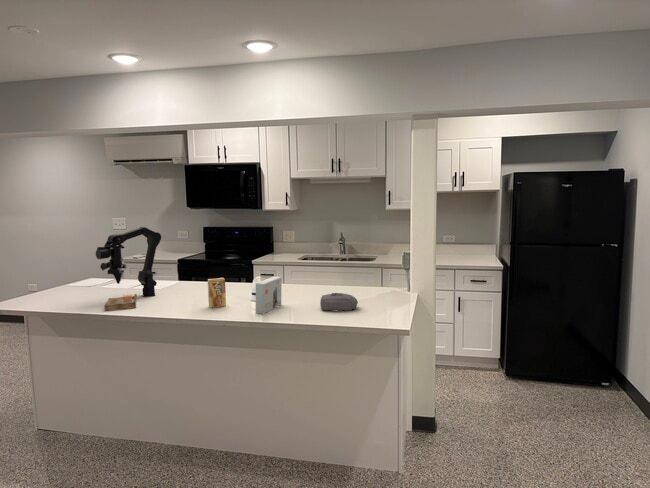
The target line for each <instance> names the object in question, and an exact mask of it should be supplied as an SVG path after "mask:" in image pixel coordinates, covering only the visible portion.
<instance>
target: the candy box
mask: <svg viewBox="0 0 650 488" xmlns="http://www.w3.org/2000/svg"><path fill="white" fill-rule="evenodd" d="M207 296H208V307H209V308H210V309H213V308H212V307H214V308H219V307H221V308H222V307H226V306H227V297H226V296H227V295H226V279H225V278H224V277H219V278H218V277H217V278H208V279H207Z"/></svg>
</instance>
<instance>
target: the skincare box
mask: <svg viewBox="0 0 650 488" xmlns="http://www.w3.org/2000/svg"><path fill="white" fill-rule="evenodd" d="M282 280H283V279H282V276H275V275H274V276H271V277H269V278H266V279H263V280H260V281H258V282H255V314H262V315H264V314H266V313H268V312H270V311H272V310H274V309H276V308H277V306H278V307H280V306H281V305H282ZM279 305H280V306H279Z"/></svg>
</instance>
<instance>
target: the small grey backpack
mask: <svg viewBox="0 0 650 488" xmlns="http://www.w3.org/2000/svg"><path fill="white" fill-rule="evenodd" d="M319 302H320V304H319V305H320V309H321V311H325V310H349V311H353V310H352V309H354V310H356V309H357V306H358V304H359V301H358V299H357V298H356V297H355V296H353V295H351V294H348V293H342V292H331V293H328V294H323V295H321V298H320V301H319ZM355 308H356V309H355Z"/></svg>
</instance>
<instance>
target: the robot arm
mask: <svg viewBox="0 0 650 488" xmlns="http://www.w3.org/2000/svg"><path fill="white" fill-rule="evenodd" d="M140 236H143V237H145V238H146V243H147V249H146V255H145V259H144V265H143V268H142V270H139V271H138V275H137V280H138V282H139V283H140V285H141V286H143V287H142V296H143V297H144V298H145V297H155V296H156V291H155V287H156V286H157V281H156V280H155V279H154V274H153V265H154V262H155V261H154V260H155V255H156V251H157V247H158V246H159V244H161V243H160V242H161V240H162V235H161V233H160V232H156V231H154V230H151V229H150V228H148V227H147V226H140V227H139V228H136V229H132V230H129V231H126V232H123V233H117V234H116V233H115V234H110V235H109V236H108V237H107V240H106V242H105V244H104V246H97V248H96V250H95V257H96V259H97V260H103V259H104V260H105V259H109V258H110V259H109V261H108V262H102V263H101V264H100V265H99V269H101V271H102V272H103V271H105V270H107V269H108V270H107V271H106V272H107V275H113V277H114V278H115V281H116V284H118V285H119V284H120V283H121V280H122V277H123V275H124V273H125V270H126V269H127V264H125V263H123V260H124V259H123V257H122V249H125V246H124V245H122V244H124V243H125V242H126V241H127V240H131V239H133V238H136V237H140ZM122 269H124V270H122Z"/></svg>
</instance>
